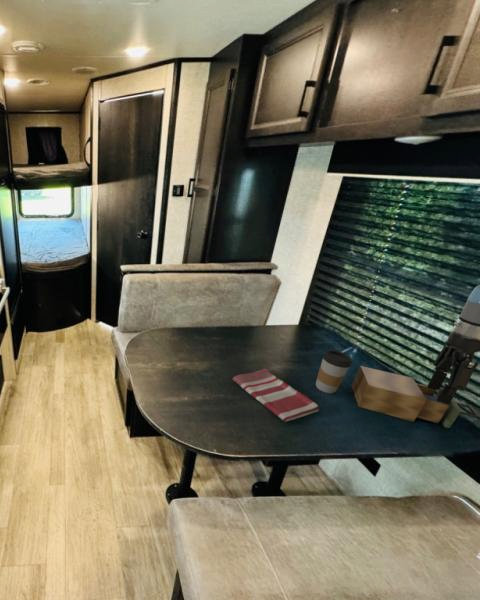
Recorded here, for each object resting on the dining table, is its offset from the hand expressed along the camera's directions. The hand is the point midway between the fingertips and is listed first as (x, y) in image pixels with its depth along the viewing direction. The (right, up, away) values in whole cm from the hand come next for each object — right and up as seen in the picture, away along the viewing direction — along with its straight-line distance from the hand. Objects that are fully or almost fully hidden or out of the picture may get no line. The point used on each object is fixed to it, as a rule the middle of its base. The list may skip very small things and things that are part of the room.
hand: (437, 394), depth 104 cm
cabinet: (-11, -6, +9) cm, 15 cm away
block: (0, -6, +3) cm, 7 cm away
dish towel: (-47, -4, +13) cm, 49 cm away
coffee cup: (-25, -3, +16) cm, 30 cm away
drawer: (0, -7, +3) cm, 8 cm away
